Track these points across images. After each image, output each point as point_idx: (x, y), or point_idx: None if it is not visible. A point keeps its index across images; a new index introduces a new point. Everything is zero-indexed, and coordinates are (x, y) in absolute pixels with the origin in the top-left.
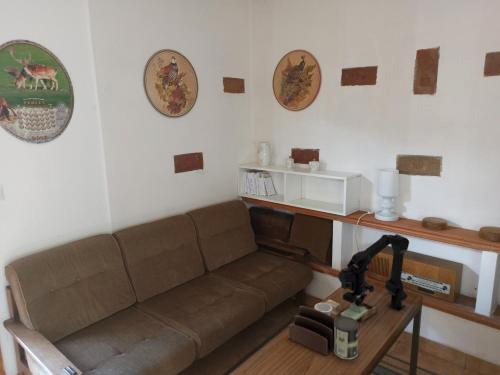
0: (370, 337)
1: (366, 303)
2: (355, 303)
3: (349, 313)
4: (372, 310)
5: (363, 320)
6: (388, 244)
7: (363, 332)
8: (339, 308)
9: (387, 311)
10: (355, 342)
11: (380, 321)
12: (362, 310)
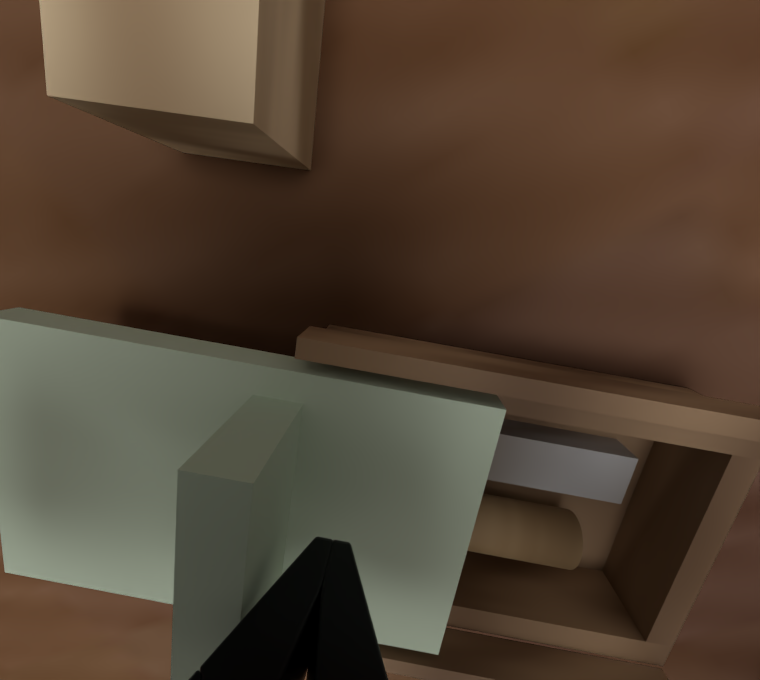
0: (103, 664)
1: (720, 512)
2: (239, 630)
3: (111, 450)
4: (515, 664)
5: None
6: None
7: (121, 594)
8: (251, 146)
9: (713, 667)
10: None
11: None
12: (369, 589)
